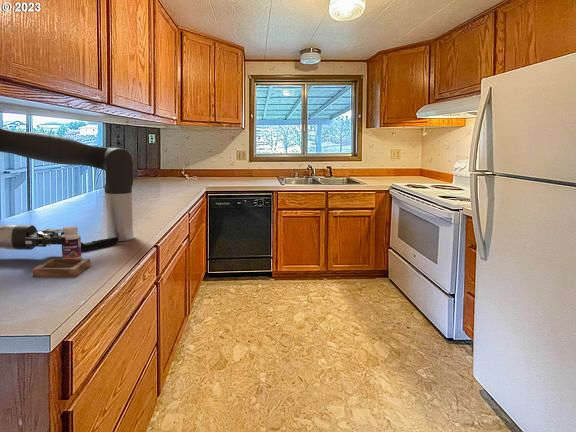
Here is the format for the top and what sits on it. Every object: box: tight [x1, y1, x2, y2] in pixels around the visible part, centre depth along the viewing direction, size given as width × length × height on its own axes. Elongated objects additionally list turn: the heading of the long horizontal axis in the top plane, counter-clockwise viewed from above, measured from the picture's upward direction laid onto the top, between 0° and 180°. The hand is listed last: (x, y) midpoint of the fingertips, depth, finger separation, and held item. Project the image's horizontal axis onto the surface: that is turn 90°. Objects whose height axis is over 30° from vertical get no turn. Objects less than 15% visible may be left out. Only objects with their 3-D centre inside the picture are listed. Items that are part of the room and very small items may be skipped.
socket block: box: [32, 258, 91, 277], centre depth 128 cm, size 11×11×2 cm
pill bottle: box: [61, 225, 82, 259], centre depth 141 cm, size 5×5×10 cm
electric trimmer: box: [81, 237, 119, 253], centre depth 155 cm, size 4×16×3 cm, turn 144°
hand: (71, 237), depth 141 cm, fingers open, 8 cm apart
